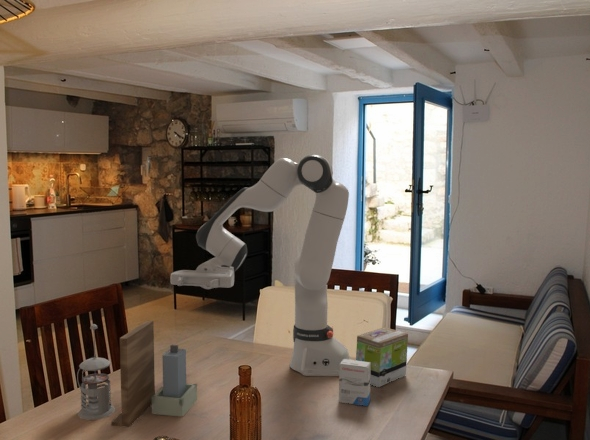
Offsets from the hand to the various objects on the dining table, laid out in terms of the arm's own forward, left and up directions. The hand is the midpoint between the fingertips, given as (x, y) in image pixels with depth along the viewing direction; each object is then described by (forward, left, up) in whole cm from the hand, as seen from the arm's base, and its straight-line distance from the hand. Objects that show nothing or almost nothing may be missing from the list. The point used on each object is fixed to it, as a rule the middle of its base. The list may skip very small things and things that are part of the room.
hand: (194, 284), depth 171 cm
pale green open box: (0, +16, -32) cm, 36 cm away
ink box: (-50, +2, -32) cm, 60 cm away
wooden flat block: (+10, +22, -32) cm, 40 cm away
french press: (+21, +23, -32) cm, 45 cm away
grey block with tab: (0, +16, -29) cm, 33 cm away
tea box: (-57, -18, -32) cm, 68 cm away
